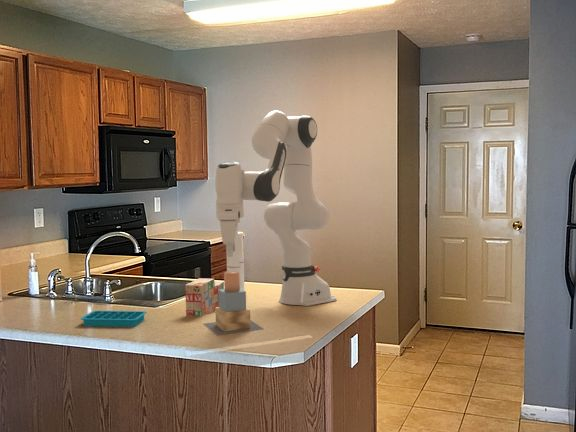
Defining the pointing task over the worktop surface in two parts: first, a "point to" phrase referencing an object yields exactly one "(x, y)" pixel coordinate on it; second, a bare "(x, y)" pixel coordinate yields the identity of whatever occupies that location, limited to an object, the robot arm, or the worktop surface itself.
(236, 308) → the slate-blue block
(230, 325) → the oak block
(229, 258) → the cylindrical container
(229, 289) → the terracotta cylinder
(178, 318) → the worktop surface
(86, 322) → the ice cube tray
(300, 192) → the robot arm
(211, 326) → the charcoal rubber mat
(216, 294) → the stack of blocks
